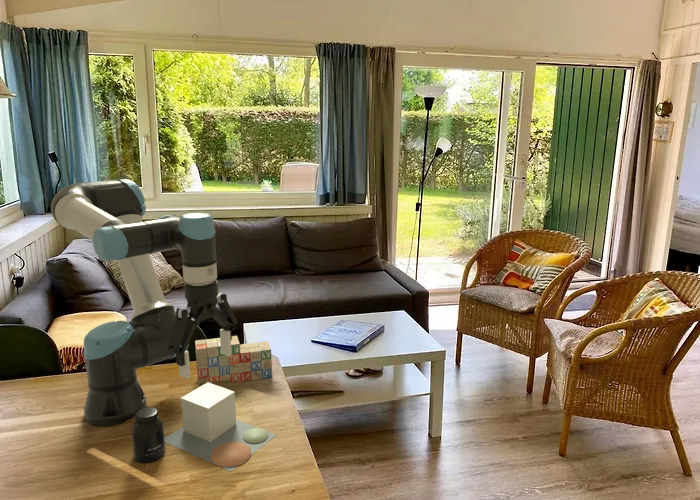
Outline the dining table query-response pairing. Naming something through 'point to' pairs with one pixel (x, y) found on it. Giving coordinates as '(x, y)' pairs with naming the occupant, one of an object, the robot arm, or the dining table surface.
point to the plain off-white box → (208, 411)
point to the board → (223, 444)
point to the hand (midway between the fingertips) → (206, 365)
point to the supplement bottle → (148, 436)
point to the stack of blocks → (232, 361)
